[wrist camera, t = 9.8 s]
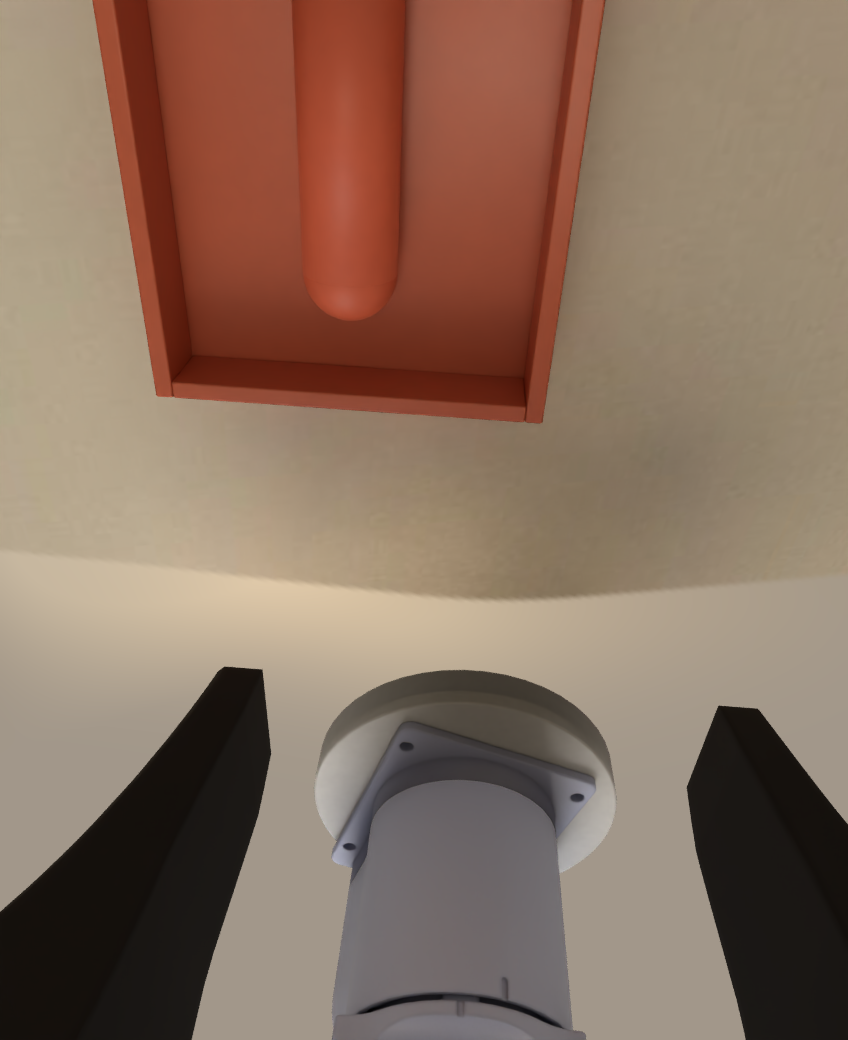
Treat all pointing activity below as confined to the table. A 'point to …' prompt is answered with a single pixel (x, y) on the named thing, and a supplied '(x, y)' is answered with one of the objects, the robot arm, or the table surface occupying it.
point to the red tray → (422, 214)
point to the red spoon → (349, 150)
